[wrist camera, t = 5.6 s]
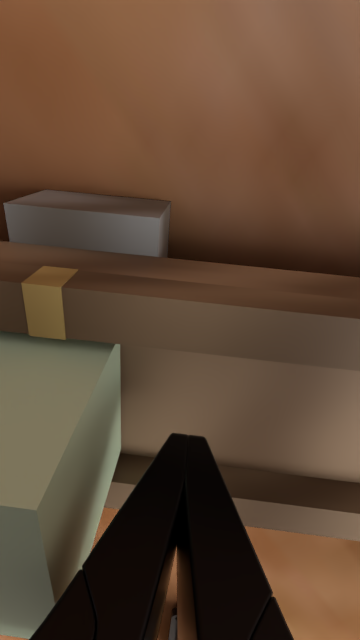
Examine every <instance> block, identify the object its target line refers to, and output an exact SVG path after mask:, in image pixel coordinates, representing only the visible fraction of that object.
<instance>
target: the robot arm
mask: <svg viewBox="0 0 360 640" xmlns="http://www.w3.org/2000/svg"><path fill="white" fill-rule="evenodd" d="M176 546H177V608H174V609H173V610H172V616H171V623H170V631H169V638H168V640H294V639H293V636H292V634H291V632H290V630H289V628H288V626H287V624H286V621H285V619H284V617H283V614H282V612H281V610H280V607H279V605H278V603H277V600H276V598H275V597H272V594H273V592H272V589H271V587H270V585H269V583H268V580H267V578H266V576H265V573H264V571H263V569H262V566H261V564H260V562H259V559H258V557H257V555H256V553H255V550H254V548H253V546H252V543H251V541H250V539H249V536H248V534H247V532H246V529H245V527H244V525H243V523H242V520H241V518H240V516H239V513H238V511H237V509H236V506H235V504H234V502H233V499H232V497H231V495H230V492H229V490H228V488H227V486H226V483H225V481H224V479H223V476H222V474H221V472H220V469H219V467H218V465H217V462H216V460H215V458H214V456H213V453H212V451H211V449H210V446H209V444H208V442H207V440H206V438H205V437H204V436H197V435H187V434H181V433H171V434H170V435H169V437H168V438H167V440H166V441H165V443H164V444H163V446H162V447H161V449H160V450H159V452H158V453H157V455H156V456H155V458H154V459H153V461H152V462H151V464H150V465H149V467H148V468H147V470H146V471H145V473H144V474H143V476H142V477H141V479H140V480H139V482H138V483H137V484H136V486H135V487H134V489H133V490H132V492H131V493H130V495H129V496H128V498H127V499H126V501H125V502H124V504H123V505H122V507H121V508H120V510H119V511H118V513H117V514H116V516H115V517H114V519H113V520H112V522H111V523H110V525H109V526H108V528H107V529H106V531H105V532H104V534H103V535H102V537H101V538H100V540H99V541H98V543H97V544H96V545H95V547H94V548H93V550H92V551H91V553H90V554H89V556H88V557H87V559H86V560H85V562H84V563H83V565H82V569H80V570H78V572H77V573H76V575H75V576H74V578H73V579H72V581H71V582H70V584H69V585H68V587H67V588H66V590H65V591H64V593H63V594H62V595H61V597H60V598H59V600H58V601H57V602H56V604H55V605H54V607H53V608H52V609H51V611H50V612H49V614H48V615H47V616H46V618H45V619H44V621H43V622H42V623H41V625H40V626H39V627H38V629H37V630H36V631H35V632H34V634H33V635H32V636H31V637H30V639H29V640H157V637H158V632H159V627H160V622H161V618H162V613H163V608H164V603H165V599H166V594H167V589H168V585H169V580H170V575H171V570H172V566H173V561H174V556H175V551H176Z"/></svg>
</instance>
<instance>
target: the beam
mask: <svg viewBox="0 0 360 640" xmlns="http://www.w3.org/2000/svg"><path fill="white" fill-rule="evenodd" d="M3 204H4V210H5V216H6V222H7V229H8V235H9V241H10V242H6V241H0V331H6V332H15V333H24V334H29V336H35V337H44V338H53V339H62V340H66V338H69V339H78V340H86V341H95V342H104V343H113V344H120V382H121V451H120V454H119V457H118V461H117V464H116V468H115V471H114V474H113V478H112V481H111V484H110V488H109V491H108V494H107V498H106V501H105V504H104V507H106V508H113V509H120V508H121V507H122V505H123V504H124V502H125V501H126V499H127V498H128V496H129V495H130V493H131V492H132V490H133V489H134V487H135V486H136V484H137V483H138V482H139V480H140V479H141V477H142V476H143V474H144V473H145V471H146V470H147V468H148V467H149V465H150V464H151V462H152V461H153V459H154V458H155V456H156V455H157V453H158V452H159V450H160V449H161V447H162V446H163V444H164V443H165V441H166V440H167V438H168V437H169V435H170V434H171V433H181V434H187V435H197V436H204V437H205V438H206V440H207V442H208V444H209V446H210V449H211V451H212V453H213V456H214V458H215V460H216V462H217V465H218V467H219V469H220V472H221V474H222V476H223V479H224V481H225V483H226V486H227V488H228V490H229V492H230V495H231V497H232V499H233V502H234V504H235V506H236V509H237V511H238V513H239V516H240V518H241V520H242V523H243V525H244V526H249V527H257V528H264V529H272V530H279V531H287V532H294V533H302V534H309V535H317V536H325V537H332V538H340V539H347V540H355V541H360V277H351V276H341V275H331V274H321V273H311V272H301V271H292V270H282V269H272V268H262V267H252V266H242V265H232V264H223V263H213V262H203V261H193V260H183V259H173V258H167V256H168V239H169V223H170V206H171V201H161V200H151V199H140V198H130V197H119V196H108V195H98V194H87V193H77V192H66V191H56V190H43V191H40V192H37V193H33V194H30V195H27V196H24V197H21V198H18V199H15V200H12V201H8V202H5V203H3Z"/></svg>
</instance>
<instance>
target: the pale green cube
mask: <svg viewBox="0 0 360 640" xmlns="http://www.w3.org/2000/svg"><path fill="white" fill-rule="evenodd" d="M120 451H121V382H120V344H113V343H104V342H95V341H86V340H78V339H69V338H66V340H62V339H53V338H44V337H35V336H29V334H24V333H15V332H6V331H0V635H7V636H13V637H20V638H27V639H30V637H31V636H32V635H33V634H34V632H35V631H36V630H37V629H38V627H39V626H40V625H41V623H42V622H43V621H44V619H45V618H46V616H47V615H48V614H49V612H50V611H51V609H52V608H53V607H54V605H55V604H56V602H57V601H58V600H59V598H60V597H61V595H62V594H63V593H64V591H65V590H66V588H67V587H68V585H69V584H70V582H71V581H72V579H73V578H74V576H75V575H76V573H77V572H78V570H80V569H82V565H83V563H84V562H85V560H86V559H87V557H88V556H89V554H90V551H91V548H92V545H93V541H94V538H95V535H96V531H97V528H98V525H99V521H100V518H101V515H102V511H103V508H104V504H105V501H106V498H107V494H108V491H109V488H110V484H111V481H112V478H113V474H114V471H115V468H116V464H117V461H118V457H119V454H120Z"/></svg>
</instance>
